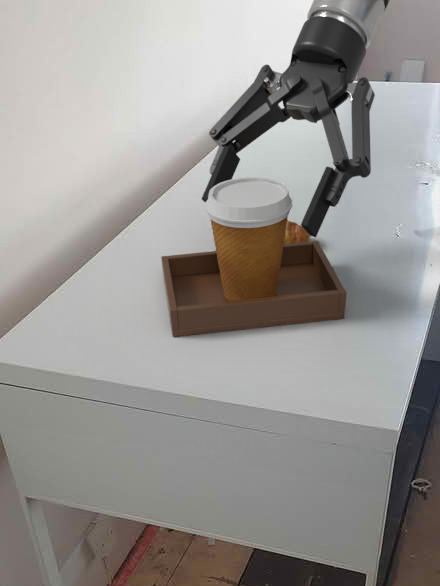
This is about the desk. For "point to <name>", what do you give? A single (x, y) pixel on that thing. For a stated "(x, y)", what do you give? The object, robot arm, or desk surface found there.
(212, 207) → the disposable coffee cup
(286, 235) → the pastry
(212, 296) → the serving tray
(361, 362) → the desk surface
